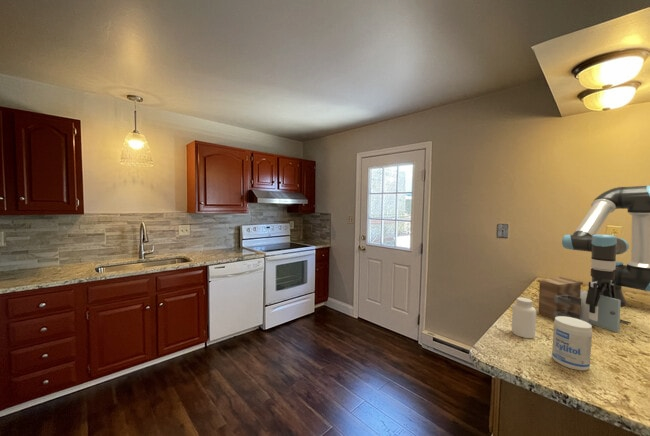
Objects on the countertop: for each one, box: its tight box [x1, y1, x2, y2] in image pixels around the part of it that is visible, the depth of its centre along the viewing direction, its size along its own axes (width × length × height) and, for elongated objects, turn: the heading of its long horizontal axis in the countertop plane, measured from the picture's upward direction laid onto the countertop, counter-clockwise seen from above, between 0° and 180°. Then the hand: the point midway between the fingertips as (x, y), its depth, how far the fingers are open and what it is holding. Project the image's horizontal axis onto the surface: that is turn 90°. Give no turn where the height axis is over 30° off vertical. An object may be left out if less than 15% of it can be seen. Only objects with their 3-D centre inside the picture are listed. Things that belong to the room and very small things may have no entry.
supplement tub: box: [551, 316, 593, 371], centre depth 90 cm, size 10×10×15 cm
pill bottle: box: [511, 297, 537, 339], centre depth 111 cm, size 8×8×15 cm
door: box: [580, 290, 622, 333], centre depth 119 cm, size 4×14×14 cm, turn 16°
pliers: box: [620, 318, 632, 325], centre depth 131 cm, size 10×1×20 cm
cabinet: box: [537, 276, 584, 321], centre depth 128 cm, size 18×14×17 cm
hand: (600, 318), depth 118 cm, fingers open, 9 cm apart
